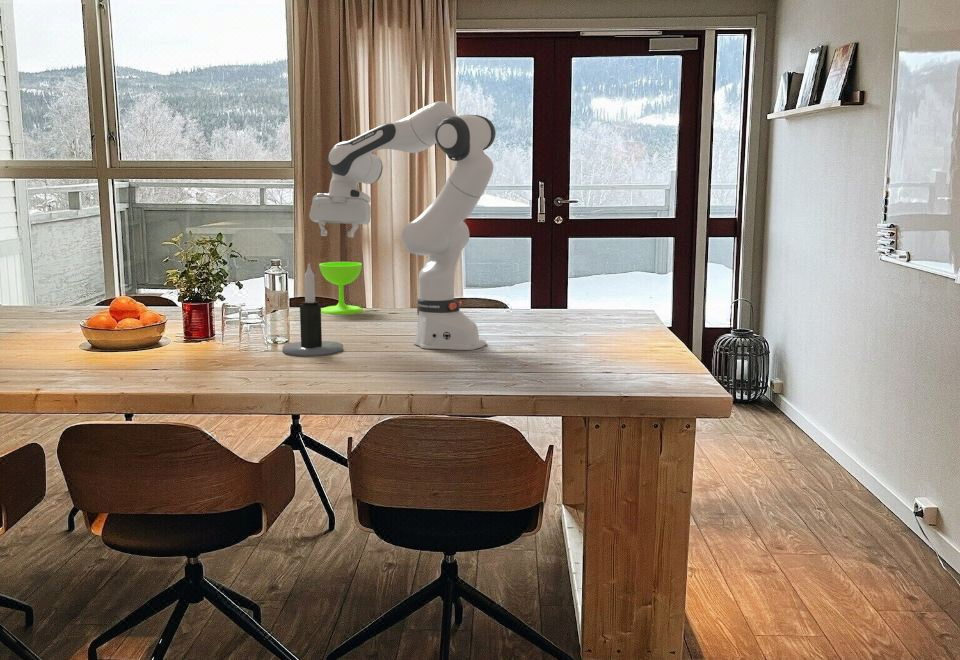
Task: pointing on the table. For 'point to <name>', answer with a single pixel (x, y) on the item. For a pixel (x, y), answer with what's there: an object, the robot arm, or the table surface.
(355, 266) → the wineglass
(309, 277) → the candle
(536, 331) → the table surface
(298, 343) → the slate plate
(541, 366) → the table surface
